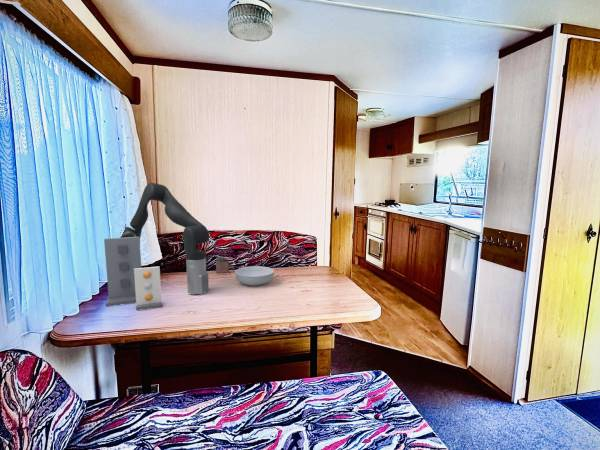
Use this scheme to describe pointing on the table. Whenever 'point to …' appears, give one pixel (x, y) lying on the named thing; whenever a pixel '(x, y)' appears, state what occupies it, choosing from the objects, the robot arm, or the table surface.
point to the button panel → (115, 275)
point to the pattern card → (147, 287)
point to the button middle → (123, 266)
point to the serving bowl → (254, 275)
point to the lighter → (222, 265)
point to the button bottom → (125, 283)
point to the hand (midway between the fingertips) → (124, 245)
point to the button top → (122, 249)
